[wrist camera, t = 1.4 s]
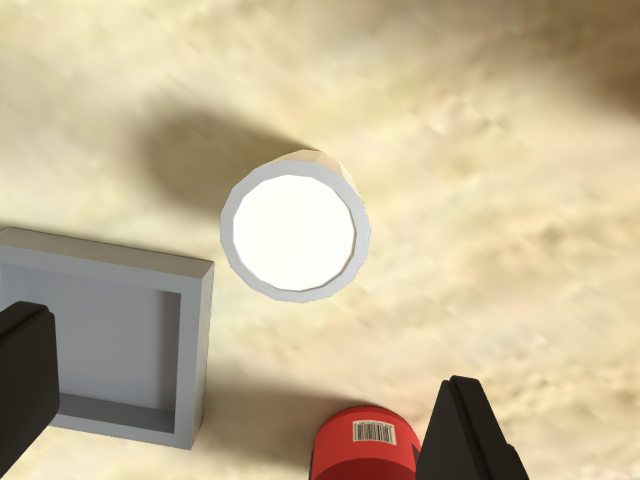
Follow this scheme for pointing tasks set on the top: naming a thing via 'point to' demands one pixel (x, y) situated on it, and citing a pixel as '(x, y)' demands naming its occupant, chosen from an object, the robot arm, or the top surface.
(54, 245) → the tray
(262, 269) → the shot glass
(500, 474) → the robot arm
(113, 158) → the top surface
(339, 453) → the canned food
